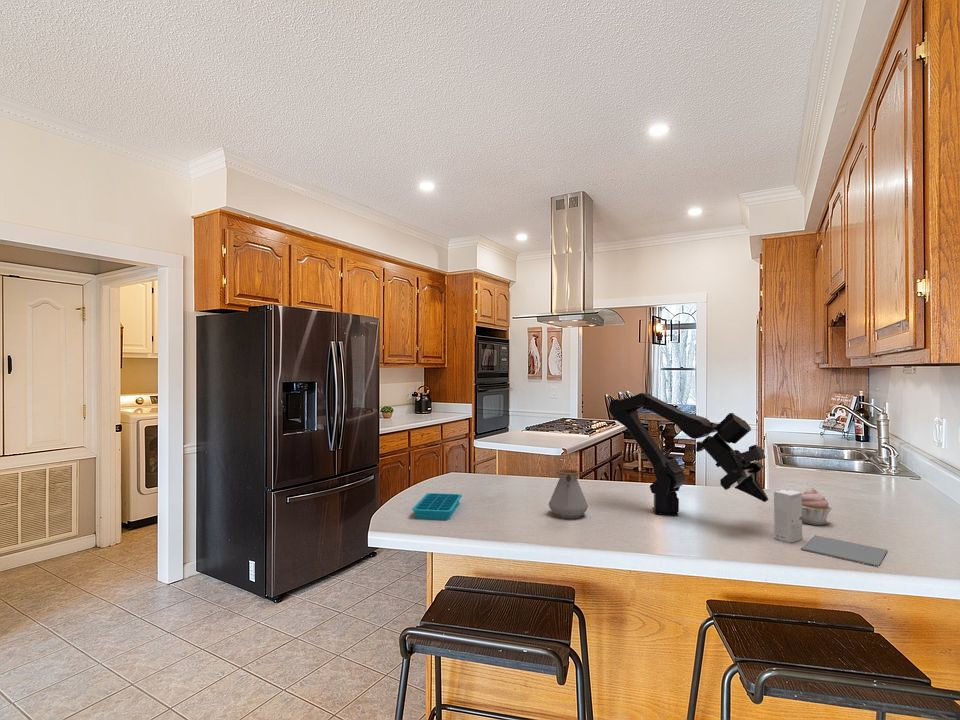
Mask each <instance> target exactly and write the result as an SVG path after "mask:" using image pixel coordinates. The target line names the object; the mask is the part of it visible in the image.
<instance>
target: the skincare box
mask: <svg viewBox="0 0 960 720" xmlns="http://www.w3.org/2000/svg"><path fill="white" fill-rule="evenodd" d="M801 494H802V492H801V491H796V490H792V489H791V490H790V489H781V490H777V491H774V492H773V499H774V500H773V507H774V510H773V513H774V517H773V518H774V524H773V526H774V529H773V530H774V531H773V532H774V539H776V540H778V539H779V541H781V540H782V541H781V542H785V543H789V544H790V543H795V542H798V541H801V540H803V522H802V495H801Z"/></svg>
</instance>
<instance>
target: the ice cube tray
mask: <svg viewBox="0 0 960 720" xmlns="http://www.w3.org/2000/svg"><path fill="white" fill-rule="evenodd" d="M462 497H463V495H462V494H460V493H442V492H441V493H438V492H428V493H425V495H424V496H423V497H422V498H421V499H420V500H419V501H418V502H417V503H416V504H415V505H414V506H413V507H412V509H411V510H412V511H414V512H415V514H414V515H415V516H414V517H415V518H416V519H418V520H419V519H423V520H424V519H425V520H445V521H448V520H450V519H451V517H452V516H453V514H454V512H455V511H456V510H457V507H458V506H459V505H460V500H461V498H462Z"/></svg>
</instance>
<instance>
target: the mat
mask: <svg viewBox="0 0 960 720" xmlns="http://www.w3.org/2000/svg"><path fill="white" fill-rule="evenodd" d="M800 551H804V552H809V553H814V554H817V555H823V556H826V555H827V556H826V557H831V556H832V557H831V558H835V557H836V559H840V558H841V560H844V559H845V561H849V562H853V561H854V563H858V562H859V564H862V563H864V564H863V565H867V564H869V565H868V566H871V565H875V566H874V567H876V566H879V565H881V564H882V562H883V560H884V559H885V557H886V555H887V553H888V549H886V548H880V547H876V546H872V545H871V546H870V545H867V544H866V545H864V544H861V543H856V542H850V541H846V540H845V541H844V540H841V539H835V538H831V537H825V536H822V535H821V536H820V535H816V534H815V535H813V536H812V537H811V538H810V539H809V540H808V541H807V542H806V543H804V544H803V546H801V548H800ZM885 554H886V555H885ZM884 556H885V557H884ZM881 561H882V562H881ZM880 563H881V564H880ZM879 567H880V566H879Z"/></svg>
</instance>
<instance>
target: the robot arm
mask: <svg viewBox="0 0 960 720" xmlns="http://www.w3.org/2000/svg"><path fill="white" fill-rule="evenodd" d="M643 407H644V408H645V409H647V410H649V411H650V412H653V413H655V414H656V415H658V416H660V417H661V418H664V419H665V420H667V421H670V422H671V423H673V424H674V425H676V426H677V428H678V429H679V430H680V431H681V432H683V433H684V434H685V435H686V436H687V437H689V438H691V439H695V440H696V439H701V438H704V439H703V440H702V441H696V443H695V444H696V447H695V451H696V452H697V453H698V452H702V451H704V450H705V451H706V452H707V454H708V455H709V456H710V457H711V458H712V459H713V460H714V462H715V464H714V465H715V466H716V467H717V468H719V467H720V468H721V469H722V470H723V471H724V472H725V473H726V474H725V475H724V476H723V477H722V478H721V479H719V480H720V481H719V482H720V486H721V487H722V489H724V491H727V490H729V489H731V486H733V485H734V484H737V485H736V486H735V487H734V489H735V490H739V491H741V492H744V493H746V494H747V495H750V496H751V497H754V498H756V499H757V500H759V501H762V502H763V503H766V502H767V501H768V500H769V497H768V495H767V494H766V492H765V491H764V488H763V487H762V485H761V482H760V481H759V474H760V472H761V471H762V470H763V469H764V468H765V466H764V465H763V464H762V463H761V460H763V459H766V458H767V456H766V455H765V453H764V452H765V450H764V449H763V448H762V447H761V446H758V444H753V445H749V447H748V450H747V451H743V452H741V451H739V450H738V449H735V450H734V449H733V447H732V446H731V445H729V444H731V443H732V444H734V445H735V444H737V443H738V442H739V441H740V440H741V439H743V438H744V437H745V436H746V435H747V434H749V432H751V431H752V427H751V425H749V423H748V422H746V420H744V419H743V418H741V417H739V416H737V415H736V414H735V413H733V412H730V413H728V414H727V415H726V416H725V417H724V418H723V420H721V421H720V422H719V423H715V422H712V421H711V420H709V419H708V418H706V417H704V416H700V415H698V414H695V413H694V414H693V413H690V412H685V411H683V410H681V409H679V408H677V407H675V406H673V405H671V404H669V403H667V402H665V401H663V400H662V399H659V398H657V397H655V396H653V395H652V394H651V393H649V392H642V393H641V392H640V393H638V394H635V395H632V396H630V397H627V398H617V399H616V398H615V399H612V400H611V401H610V403H609V405H608V412H609V413H610V415H611V416H612V417H613V418H614V419H615V420H616V421H617V422H618V423H619V424H621V425H622V426H624V427H625V428H626V429H627V430H628V432H629V434H630V435H631V436H632V438H633V439H634V441H635V442H636V444H637V445H638V447H639V448H640V449H641V450H642V452H643V453H644V455H645V456H646V458H647V460H648V461H649V462H650V464H651V465H652V469H653V475H654V477H655V479H656V480H655V481H653V483H651V484H650V485H649V490H650V492H651V494H653V507H652V511H653V512H654V514H655V515H661V516H662V515H663V516H679V512H680V501H679V500H680V498H679V497H678V492H679V491H680V489H681V488H680V487H682V486H683V485H684V484H685V482H686V475H685V473H684V471H685V469H684V468H682V466H681V465H680V464H679V461H678V460H677V459H675V458H674V459H669V458H668V457H666V455H665V454H664V452H663V451H662V449H661V448H660V447H659V446H658V443H656V441H655V440H654V439H653V437H652V436H651V434H650V433H649V432H648V430H647V429H646V427H645V425H643V423H642V422H641V420H640V418H639V414H638V413H639V412H638V410H640V409H641V408H643ZM713 433H715V434H714V435H712V436H711V434H713Z"/></svg>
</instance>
